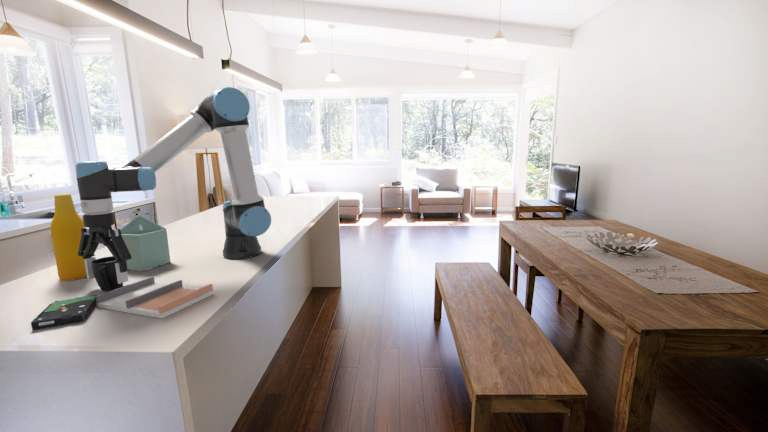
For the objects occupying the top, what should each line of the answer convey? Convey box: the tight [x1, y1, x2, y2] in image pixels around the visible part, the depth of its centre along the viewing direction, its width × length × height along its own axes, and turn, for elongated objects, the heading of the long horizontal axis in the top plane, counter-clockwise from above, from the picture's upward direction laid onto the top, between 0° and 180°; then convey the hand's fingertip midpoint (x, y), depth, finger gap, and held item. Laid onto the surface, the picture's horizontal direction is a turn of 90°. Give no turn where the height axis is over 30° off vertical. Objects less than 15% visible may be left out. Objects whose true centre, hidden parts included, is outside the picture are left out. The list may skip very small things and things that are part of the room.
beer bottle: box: [50, 193, 87, 282], centre depth 125 cm, size 9×9×29 cm
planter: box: [119, 214, 171, 272], centre depth 134 cm, size 16×8×20 cm, turn 117°
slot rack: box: [95, 276, 214, 319], centre depth 104 cm, size 17×24×3 cm
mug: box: [91, 255, 124, 292], centre depth 113 cm, size 8×12×10 cm
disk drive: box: [30, 294, 99, 331], centre depth 96 cm, size 10×3×15 cm
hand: (107, 280), depth 113 cm, fingers open, 13 cm apart
